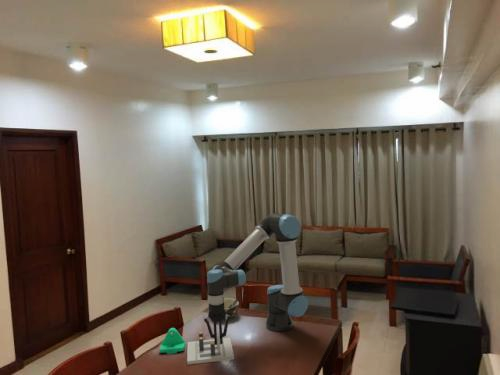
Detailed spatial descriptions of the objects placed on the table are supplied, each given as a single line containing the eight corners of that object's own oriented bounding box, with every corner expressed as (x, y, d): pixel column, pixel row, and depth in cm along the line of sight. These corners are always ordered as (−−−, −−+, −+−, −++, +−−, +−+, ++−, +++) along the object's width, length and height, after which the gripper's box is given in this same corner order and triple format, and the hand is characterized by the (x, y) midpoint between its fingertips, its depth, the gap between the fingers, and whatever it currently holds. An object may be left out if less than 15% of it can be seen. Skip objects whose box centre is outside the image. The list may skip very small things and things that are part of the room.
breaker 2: (215, 352, 204) (214, 341, 204) (215, 354, 201) (214, 343, 201) (210, 352, 204) (210, 341, 203) (211, 355, 201) (210, 344, 201)
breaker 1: (203, 347, 210) (202, 336, 210) (203, 349, 208) (203, 339, 207) (199, 347, 210) (198, 337, 210) (199, 349, 207) (199, 339, 207)
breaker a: (203, 341, 217) (202, 331, 217) (203, 343, 215) (202, 333, 214) (199, 341, 217) (198, 331, 217) (199, 344, 214) (198, 333, 214)
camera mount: (159, 354, 209) (158, 334, 209) (161, 348, 217) (160, 328, 217) (184, 352, 210) (182, 332, 210) (185, 346, 218) (184, 326, 217)
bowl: (207, 323, 248) (206, 307, 248) (214, 312, 266) (213, 297, 265) (236, 323, 245) (235, 307, 245) (242, 312, 263) (241, 297, 262)
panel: (230, 340, 222) (229, 337, 222) (234, 359, 200) (233, 355, 200) (187, 345, 219) (187, 341, 219) (187, 364, 197) (187, 360, 197)
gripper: (229, 299, 206) (231, 346, 207) (202, 301, 204) (205, 349, 206) (230, 303, 199) (233, 352, 200) (202, 306, 197) (205, 355, 198)
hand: (219, 350), depth 203 cm, fingers closed
